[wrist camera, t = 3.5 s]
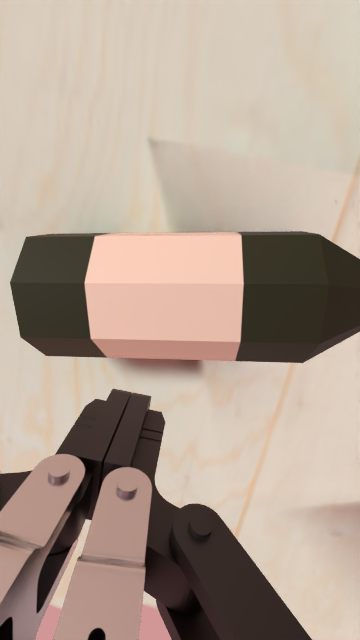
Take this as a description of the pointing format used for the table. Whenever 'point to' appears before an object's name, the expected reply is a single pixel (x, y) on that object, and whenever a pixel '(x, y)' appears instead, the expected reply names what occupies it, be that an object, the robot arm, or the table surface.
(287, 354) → the wine bottle
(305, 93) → the table surface
